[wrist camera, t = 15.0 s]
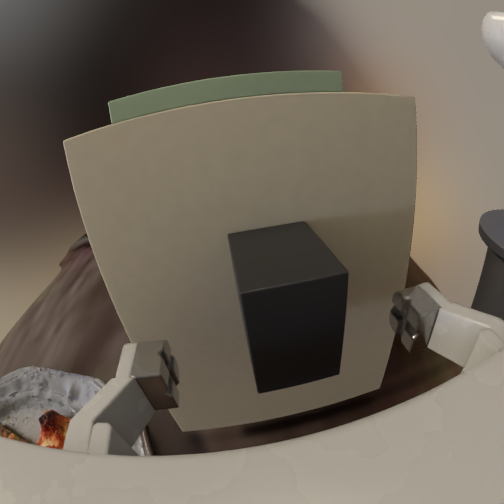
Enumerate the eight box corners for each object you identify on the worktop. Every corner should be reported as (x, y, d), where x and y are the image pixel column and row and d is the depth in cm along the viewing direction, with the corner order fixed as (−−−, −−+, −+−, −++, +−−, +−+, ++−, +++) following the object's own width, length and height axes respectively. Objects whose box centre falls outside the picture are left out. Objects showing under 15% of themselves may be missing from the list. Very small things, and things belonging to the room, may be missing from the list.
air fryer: (343, 334, 26) (340, 62, 16) (183, 366, 25) (106, 93, 14) (301, 264, 38) (286, 82, 28) (187, 284, 37) (148, 102, 27)
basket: (403, 431, 14) (487, 101, 6) (184, 483, 13) (-2, 159, 5) (320, 290, 29) (310, 101, 21) (185, 315, 28) (138, 126, 20)
